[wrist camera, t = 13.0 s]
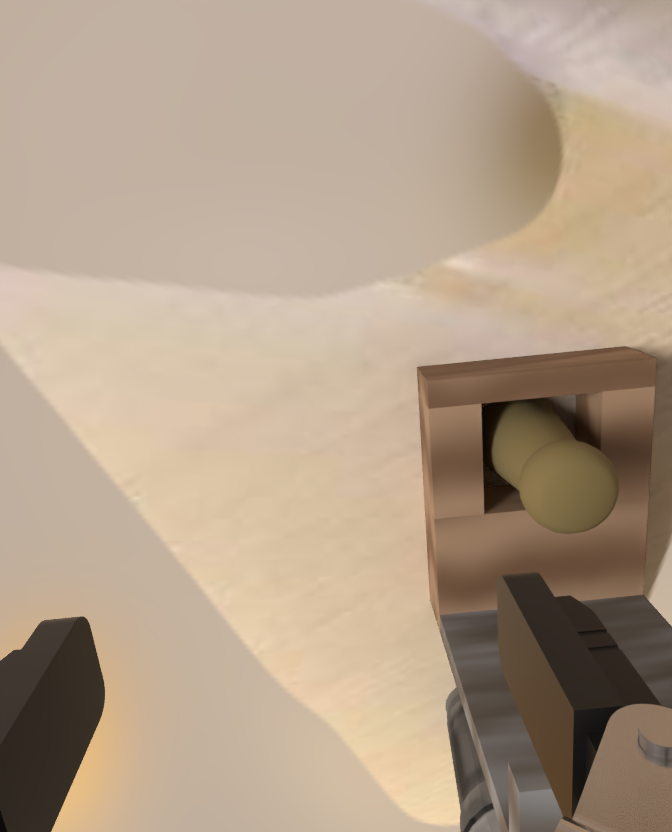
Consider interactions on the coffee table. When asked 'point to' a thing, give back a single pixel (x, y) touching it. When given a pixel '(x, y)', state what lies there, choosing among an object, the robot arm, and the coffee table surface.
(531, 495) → the cork
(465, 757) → the beverage cup
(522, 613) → the robot arm
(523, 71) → the coffee table surface
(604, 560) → the socket stand
